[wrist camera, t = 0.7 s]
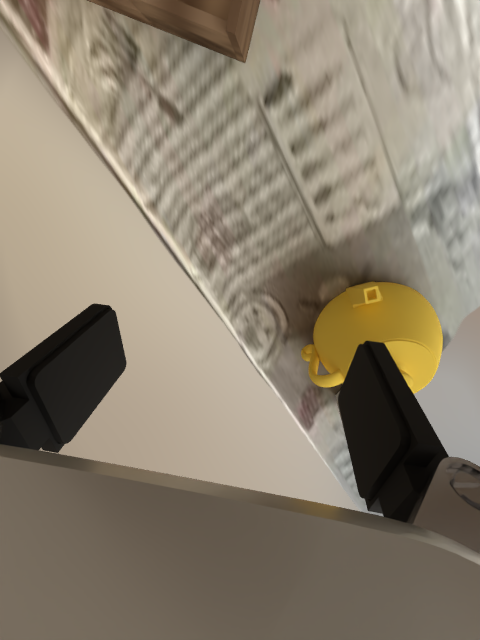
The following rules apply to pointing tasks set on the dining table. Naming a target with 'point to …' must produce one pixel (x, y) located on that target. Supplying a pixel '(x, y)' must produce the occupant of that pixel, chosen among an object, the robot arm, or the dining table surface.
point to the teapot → (376, 332)
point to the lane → (197, 21)
